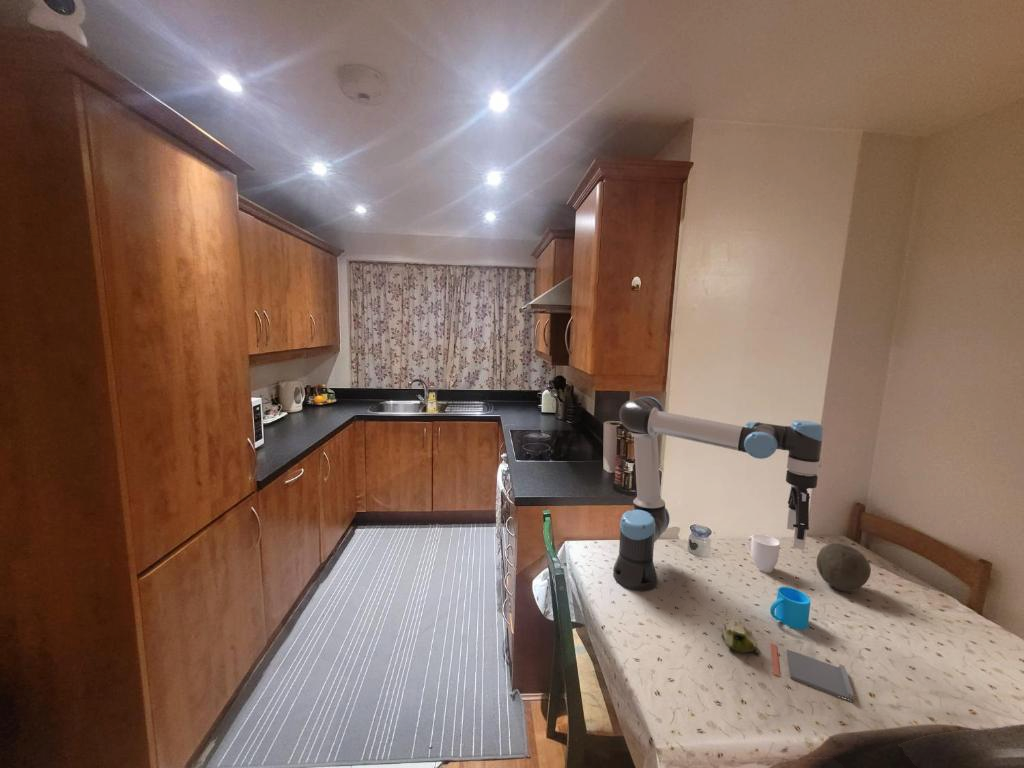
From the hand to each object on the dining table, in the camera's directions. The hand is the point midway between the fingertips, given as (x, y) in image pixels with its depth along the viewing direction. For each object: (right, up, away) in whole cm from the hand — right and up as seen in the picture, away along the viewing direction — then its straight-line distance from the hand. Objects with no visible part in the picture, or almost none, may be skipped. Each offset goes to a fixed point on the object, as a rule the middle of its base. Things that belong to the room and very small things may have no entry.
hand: (794, 538), depth 116 cm
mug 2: (-3, -26, 0) cm, 26 cm away
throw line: (-17, -26, -15) cm, 35 cm away
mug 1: (+8, -23, +28) cm, 37 cm away
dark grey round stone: (+29, -24, +17) cm, 41 cm away
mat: (-9, -27, -20) cm, 35 cm away
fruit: (-24, -26, -11) cm, 37 cm away
